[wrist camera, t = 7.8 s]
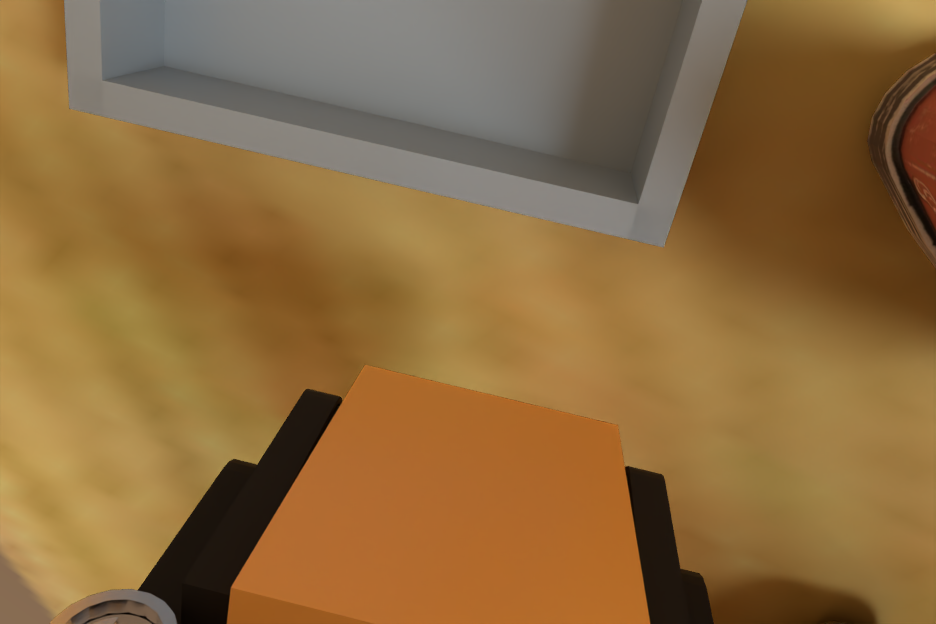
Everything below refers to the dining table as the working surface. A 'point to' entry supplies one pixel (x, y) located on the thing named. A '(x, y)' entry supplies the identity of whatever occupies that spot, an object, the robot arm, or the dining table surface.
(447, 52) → the tray
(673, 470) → the dining table surface
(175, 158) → the dining table surface
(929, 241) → the lighter
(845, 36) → the dining table surface
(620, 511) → the orange cube-like block
